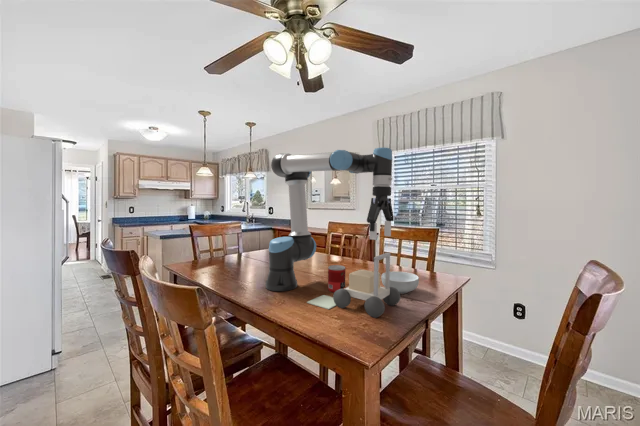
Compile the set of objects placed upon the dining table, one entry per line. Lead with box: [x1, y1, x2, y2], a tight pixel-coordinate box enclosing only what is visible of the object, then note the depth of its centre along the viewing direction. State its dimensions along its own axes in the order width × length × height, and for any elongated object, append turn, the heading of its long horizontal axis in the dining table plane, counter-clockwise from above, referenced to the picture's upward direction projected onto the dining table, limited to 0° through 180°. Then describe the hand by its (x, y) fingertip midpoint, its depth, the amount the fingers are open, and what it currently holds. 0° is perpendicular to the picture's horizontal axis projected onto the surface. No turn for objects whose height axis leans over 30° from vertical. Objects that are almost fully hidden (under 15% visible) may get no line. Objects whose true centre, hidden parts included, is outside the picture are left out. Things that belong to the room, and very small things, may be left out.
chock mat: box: [306, 294, 338, 310], centre depth 114 cm, size 11×11×1 cm
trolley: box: [332, 252, 401, 319], centre depth 109 cm, size 21×16×21 cm
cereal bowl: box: [380, 270, 420, 295], centre depth 128 cm, size 17×17×7 cm
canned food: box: [327, 264, 346, 294], centre depth 128 cm, size 8×8×11 cm
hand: (380, 237), depth 115 cm, fingers open, 13 cm apart
